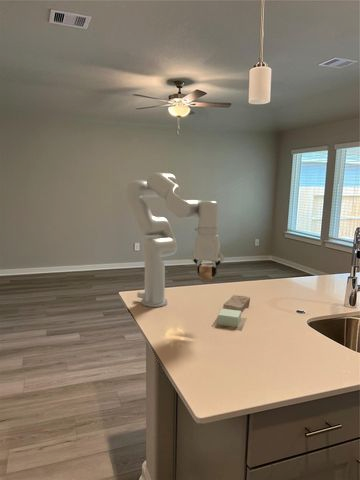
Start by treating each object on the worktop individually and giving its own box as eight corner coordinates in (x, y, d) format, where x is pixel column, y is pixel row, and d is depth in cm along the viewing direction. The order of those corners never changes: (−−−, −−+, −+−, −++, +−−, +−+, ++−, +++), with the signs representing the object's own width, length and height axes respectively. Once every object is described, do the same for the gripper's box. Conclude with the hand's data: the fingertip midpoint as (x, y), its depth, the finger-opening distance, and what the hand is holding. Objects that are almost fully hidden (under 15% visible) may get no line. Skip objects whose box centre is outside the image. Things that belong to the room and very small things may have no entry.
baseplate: (211, 328, 143) (211, 326, 143) (218, 316, 156) (218, 314, 156) (241, 333, 140) (241, 330, 139) (246, 320, 153) (246, 318, 153)
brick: (240, 317, 158) (240, 306, 157) (221, 313, 161) (222, 303, 161) (250, 306, 173) (250, 296, 172) (233, 303, 176) (233, 294, 176)
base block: (217, 324, 145) (218, 314, 145) (222, 317, 153) (222, 308, 152) (237, 327, 143) (238, 317, 142) (240, 320, 150) (241, 310, 150)
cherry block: (199, 278, 147) (199, 266, 146) (202, 275, 151) (202, 264, 151) (211, 279, 145) (211, 267, 144) (214, 276, 150) (214, 265, 149)
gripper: (184, 231, 145) (184, 276, 147) (226, 233, 139) (225, 279, 142) (190, 229, 152) (189, 272, 154) (230, 231, 146) (229, 275, 149)
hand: (206, 275), depth 148 cm, fingers closed on cherry block, 4 cm apart
